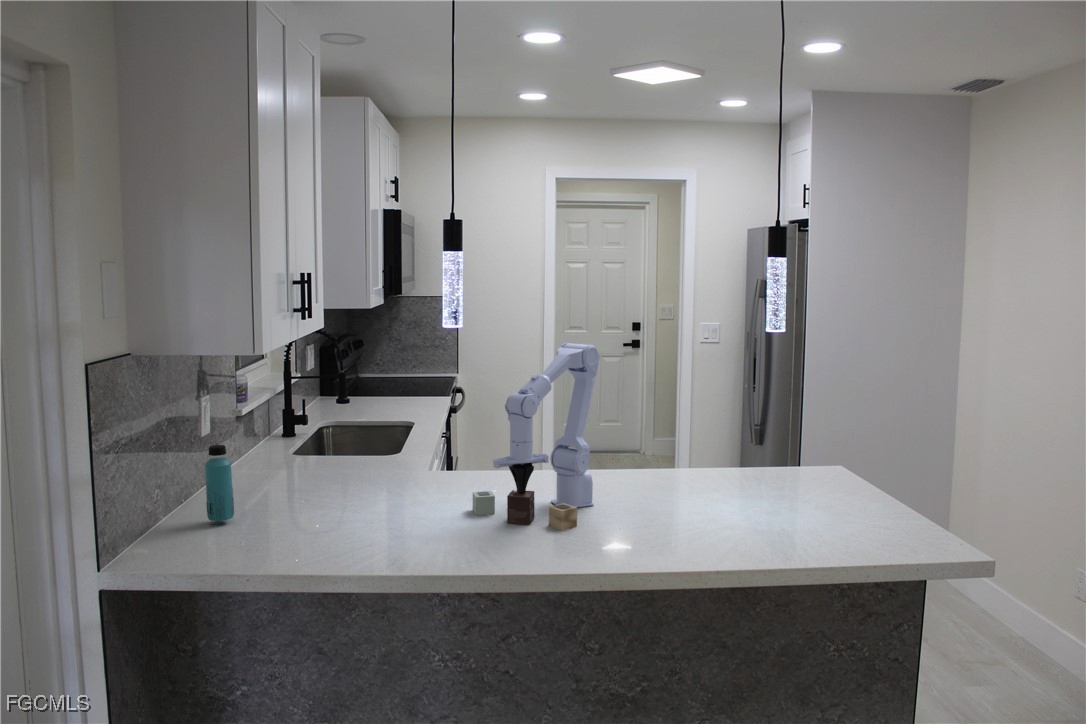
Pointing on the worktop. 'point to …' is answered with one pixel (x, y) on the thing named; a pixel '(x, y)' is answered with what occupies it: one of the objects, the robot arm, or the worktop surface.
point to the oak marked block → (563, 516)
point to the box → (520, 507)
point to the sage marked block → (483, 503)
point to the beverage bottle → (219, 485)
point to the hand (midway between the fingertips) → (521, 492)
